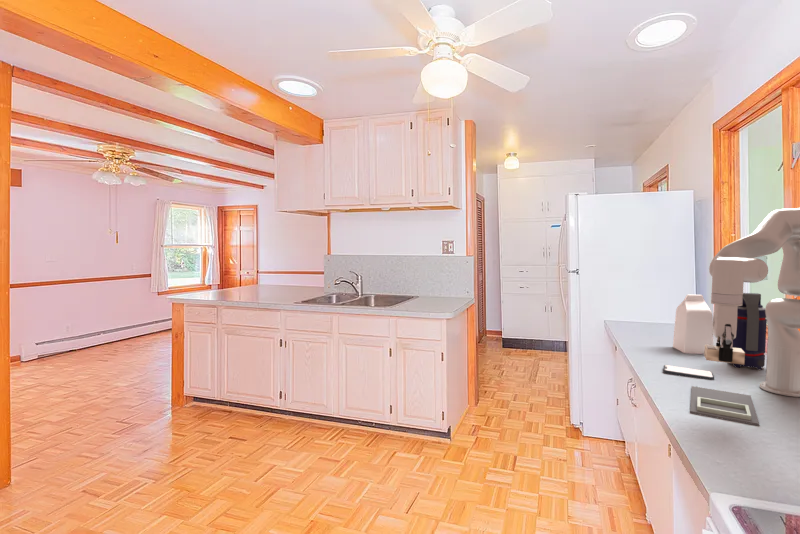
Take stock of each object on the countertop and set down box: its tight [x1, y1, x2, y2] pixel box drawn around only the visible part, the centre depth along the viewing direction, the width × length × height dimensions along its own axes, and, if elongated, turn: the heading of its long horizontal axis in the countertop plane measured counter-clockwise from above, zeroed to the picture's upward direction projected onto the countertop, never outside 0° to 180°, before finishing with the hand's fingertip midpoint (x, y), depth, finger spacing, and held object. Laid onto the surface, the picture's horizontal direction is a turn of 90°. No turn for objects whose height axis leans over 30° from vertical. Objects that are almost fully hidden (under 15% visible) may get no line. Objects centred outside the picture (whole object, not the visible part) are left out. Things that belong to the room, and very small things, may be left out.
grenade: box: [730, 292, 767, 371], centre depth 173 cm, size 14×12×30 cm
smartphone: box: [662, 364, 715, 381], centre depth 165 cm, size 9×2×16 cm
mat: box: [689, 385, 760, 427], centre depth 134 cm, size 26×16×1 cm, turn 145°
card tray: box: [697, 397, 751, 420], centre depth 129 cm, size 13×10×1 cm
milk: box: [672, 294, 714, 355], centre depth 198 cm, size 12×12×26 cm
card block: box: [703, 344, 745, 365], centre depth 130 cm, size 9×6×4 cm, turn 60°
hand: (723, 358), depth 130 cm, fingers closed on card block, 6 cm apart
